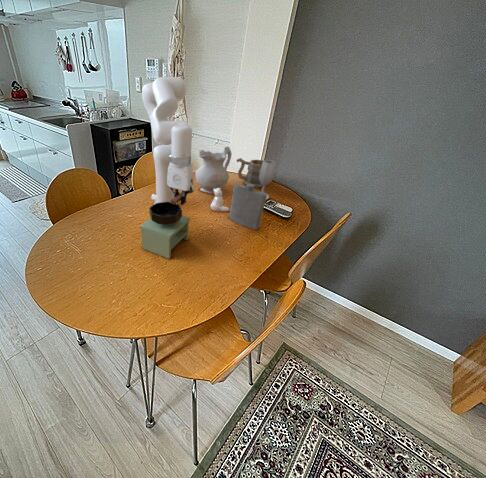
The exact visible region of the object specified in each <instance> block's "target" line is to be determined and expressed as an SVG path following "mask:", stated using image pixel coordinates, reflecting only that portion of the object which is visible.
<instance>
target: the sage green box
mask: <svg viewBox="0 0 486 478" xmlns="http://www.w3.org/2000/svg"><path fill="white" fill-rule="evenodd" d="M190 221H191V217H189V216H185V215H182V217H181V218H180V220H179V221H178V222H176V223H173V224H167V225H164V224H158V223H155V222H154V221H152V220H151V217H149V218H148V219H147V220H146V221H144V222H143V223H142V224H140V225H139V229H140V232H141V234H140V235H141V246H142V250H145V251H148V252H150V253H153V254H155V255H158V256H160V257H164V258H166V259H170V258H171V257H172V254H171V253H172V250H173V249H174V248H175V247H176V245H178V244H179V242H181V241H182V240H185V241H188V240H189V230H190V228H189V227H190Z"/></svg>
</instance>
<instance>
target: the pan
mask: <svg viewBox="0 0 486 478" xmlns="http://www.w3.org/2000/svg"><path fill="white" fill-rule="evenodd" d="M179 193H180V194H178V195H177V196H176V197H174V198H173V199H171V202H161V203H156V204H154V203H153V204H152V205H151V206H150V207H148V208H149V211H148V212H149V216H150V217H149V218H151V220H152V221H154V222H155V223H158V224H164V225H167V224H173V223H176V222H178V221H179V220H180V218H181V217H182V216H183V209H182V208H181V206H180V205H179V204H178V203H180V202H181V196H182V191H181V192H179ZM186 197H188V194H187V195H186Z"/></svg>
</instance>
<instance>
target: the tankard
mask: <svg viewBox="0 0 486 478" xmlns="http://www.w3.org/2000/svg"><path fill="white" fill-rule="evenodd" d="M235 161H236V163H239V162H240V164H241V165H240V167H239V169H238V171H237V176H238V179H240V180H244V181H243V184H244V185H246V184H248V183H250V184H254V188H255V189H256V188H257V189H258V188H262V187H263V185H262V184H261V183H260V182H259V172H260V169H261V166H262V164H263V162H264V160H263V159H251V160H250V161H246V160H245V159H243V158H242V157H240V158H237V159H236V160H235ZM245 165H246V166H247V173H246V175H243V174H242V172H243V170H244V169H245Z"/></svg>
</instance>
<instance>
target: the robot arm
mask: <svg viewBox="0 0 486 478" xmlns="http://www.w3.org/2000/svg"><path fill="white" fill-rule="evenodd" d="M186 95H187V84H186V82H185V80H184V79H183V78H182V77H180V76H159V77H157V78H156V79H154V81H153V82H149V83H146V84H144V85H143V86H142V89H141V98H142V102H143V106H144V109H145V110H146V113H147V115H148V117H149V121H150V127H151V132H152V138H153V141H154V143H155V144H157V146H156V147H154V149H153V151H152V157H153V162H154V168H155V194H154V193H153V194H151V197H150V200H152V201H154V202H153V205H154V204H156V203H161V202H171V199H173V198H174V197H176V196H177V195H178V194H180V193H181V192H182V196H181V201H180V205H181V206H183V205H184V204H186V202H187V196H188V195H189V194H193V193H194V192H195V188H194V169H193V164H192V144H193V143H192V141H193V129H192V127H191V126H190V125H189V123H188V121H185V120H169V117H172V116H173V115H174V114H175V113H176V112H177V110H178V109H179V102H180V101H183V100H184V99H185V97H186ZM180 191H181V192H180ZM186 195H187V196H186Z"/></svg>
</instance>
